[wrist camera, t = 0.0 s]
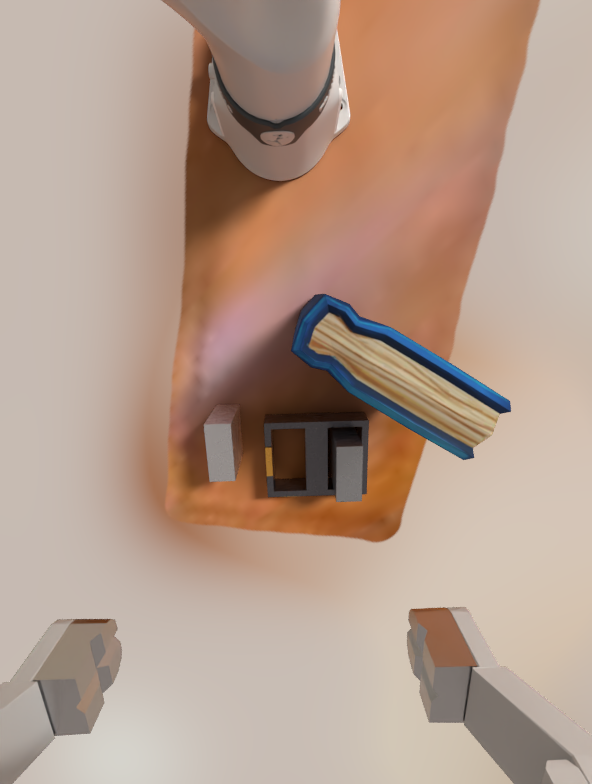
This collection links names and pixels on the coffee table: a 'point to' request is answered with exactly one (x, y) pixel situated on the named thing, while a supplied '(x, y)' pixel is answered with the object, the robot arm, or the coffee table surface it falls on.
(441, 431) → the book
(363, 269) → the coffee table surface
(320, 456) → the rack
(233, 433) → the block
